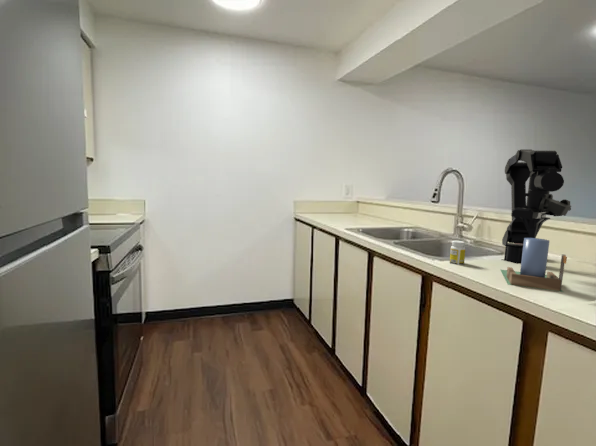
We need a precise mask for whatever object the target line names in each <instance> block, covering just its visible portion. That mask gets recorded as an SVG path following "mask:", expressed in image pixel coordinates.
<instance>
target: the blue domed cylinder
mask: <svg viewBox="0 0 596 446" xmlns="http://www.w3.org/2000/svg"><path fill="white" fill-rule="evenodd" d="M549 248H550V240H549V239H545V238H539V237H538V238H537V237H536V238H524V244H523V252H522V261H521V263H520V271H519V272H520V275H528V276H536V277H545V275H546V273H547V266H548V265H547V264H548V257H549V255H548V254H549Z"/></svg>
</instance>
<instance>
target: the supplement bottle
mask: <svg viewBox="0 0 596 446" xmlns="http://www.w3.org/2000/svg"><path fill="white" fill-rule="evenodd" d="M465 244H466V243H465V241H462V240H452V242H451V246H450V253H449V254H450V255H449V264H450V265H459V266H460V265H461V266H462V265H465V259H466V247H465Z"/></svg>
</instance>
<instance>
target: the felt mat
mask: <svg viewBox="0 0 596 446" xmlns="http://www.w3.org/2000/svg"><path fill="white" fill-rule="evenodd" d="M514 271H515V273H516V274H520V271H516V270H514ZM500 272H501V274H502V276H503V278H504V280H505V283H507V286H512V285H511V284H510V282H509V280H508V278H507V269H500ZM545 278H547V274H545ZM513 286H515V287H518V286H517V285H513ZM520 287H523V288H525V287H524V286H520ZM528 288H529V289H530V288H531V289H533V288H532V287H528ZM535 289H537V290H541V289H540V288H535ZM543 290H545V291H548V290H547V289H543ZM550 291H553V292H556V291H555V290H550ZM558 292H559V293H564V290H562V289H561V291H558Z"/></svg>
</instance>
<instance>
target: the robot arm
mask: <svg viewBox="0 0 596 446" xmlns="http://www.w3.org/2000/svg"><path fill="white" fill-rule="evenodd" d="M520 161H521V162H520ZM562 168H563V165H562V161H561V159H560V156H559V154H558V152H557V151H556V150H533V149H517V151H516V152H515V155H512V156H511V157H510V158H509V159H508V160H507V162H506V164H505V167H504V174H505V176H506V178H505V179H506V181H507V182H508V183H509V185H510V188H511V190H510V191H511V215H510V216H511V222H510V223H509V224H508V226H507V227H506V230H505V232H504V235H503V237H502V240H501V241H502V242H501V243H502V245H503V246H504V248H505V249H504V259H501V261H504V262H508V263H511V264H512V263H513V264H517V265H518V264H520V265H521V261H522V252H523V244H524V238H537V236H538V233H539V231H540V230H541V228H542V225H543V224H544V223H546V222H547V221H549V220H551V217H547V216H553V217H562V216H564V217H565V216H566V215H567V214H568V212H569V211H571V210H572V205H571V201H570V200H567V199H562V200H557V199H554V198H553V197H554V196H553V194H552V193H551V192H557V191H559V190H560V189H561V188H562V187H563V186H564V183H565V179H564V176H562V174H560V173H561V172H562ZM527 181H529V182H528V188H526V187H527V186H526V184H527ZM526 189H528V190H526ZM515 243H520V244H515Z"/></svg>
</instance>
